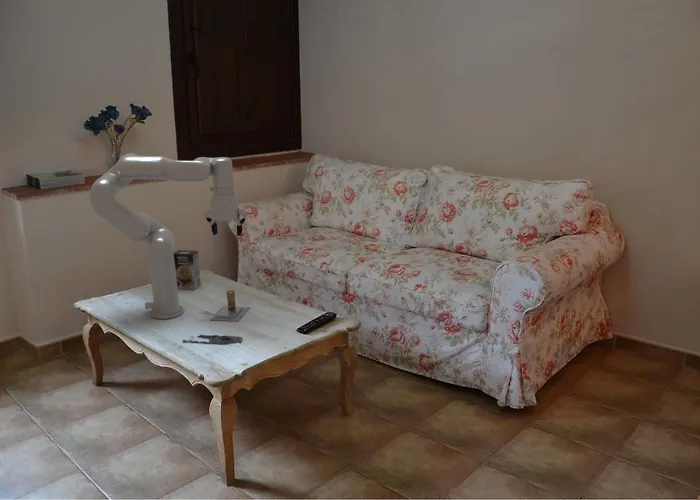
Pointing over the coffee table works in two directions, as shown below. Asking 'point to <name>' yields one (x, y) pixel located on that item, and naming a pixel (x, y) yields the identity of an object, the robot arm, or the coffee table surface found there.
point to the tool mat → (228, 318)
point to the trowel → (230, 307)
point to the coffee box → (187, 269)
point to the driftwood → (218, 339)
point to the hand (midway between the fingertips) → (227, 234)
